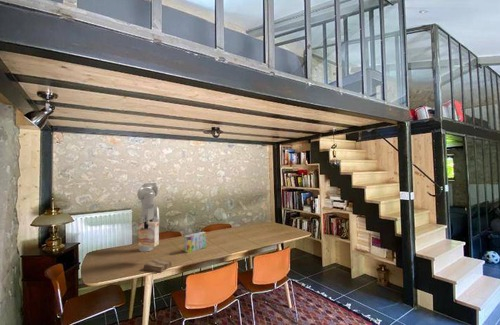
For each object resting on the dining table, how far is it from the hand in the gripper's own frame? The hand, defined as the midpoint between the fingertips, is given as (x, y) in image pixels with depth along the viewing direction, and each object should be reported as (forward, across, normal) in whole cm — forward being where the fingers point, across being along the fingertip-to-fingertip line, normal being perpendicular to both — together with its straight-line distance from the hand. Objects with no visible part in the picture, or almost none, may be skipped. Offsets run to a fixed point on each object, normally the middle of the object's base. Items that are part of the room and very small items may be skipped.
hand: (148, 227), depth 202 cm
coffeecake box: (+16, 0, 0) cm, 16 cm away
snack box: (+29, -32, +29) cm, 53 cm away
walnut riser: (+29, +12, +15) cm, 35 cm away
